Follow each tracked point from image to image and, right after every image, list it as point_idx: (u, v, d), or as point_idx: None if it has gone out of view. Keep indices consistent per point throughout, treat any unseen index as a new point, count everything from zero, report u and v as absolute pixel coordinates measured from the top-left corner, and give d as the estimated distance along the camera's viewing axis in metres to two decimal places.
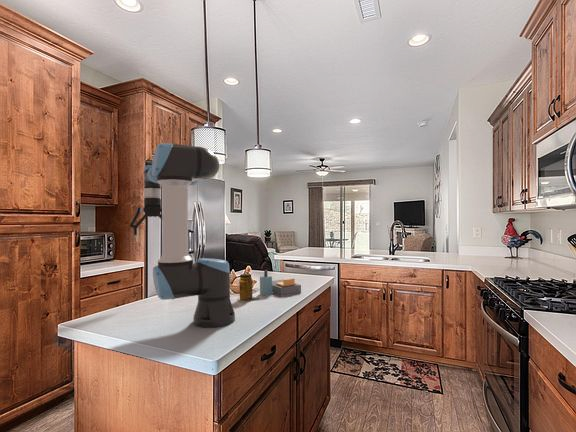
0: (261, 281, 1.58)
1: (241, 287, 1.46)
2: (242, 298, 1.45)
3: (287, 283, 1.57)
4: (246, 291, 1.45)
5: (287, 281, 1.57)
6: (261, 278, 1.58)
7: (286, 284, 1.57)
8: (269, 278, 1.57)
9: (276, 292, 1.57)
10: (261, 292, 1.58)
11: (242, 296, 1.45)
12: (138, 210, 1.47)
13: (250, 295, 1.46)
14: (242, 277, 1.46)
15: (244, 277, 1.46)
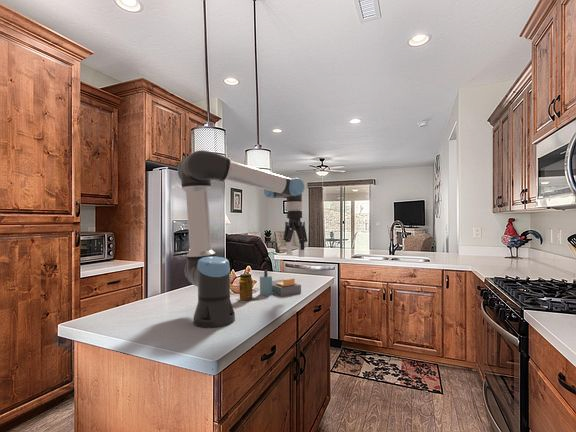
0: (261, 281, 1.58)
1: (241, 287, 1.46)
2: (242, 298, 1.45)
3: (287, 283, 1.57)
4: (246, 291, 1.45)
5: (287, 281, 1.57)
6: (261, 278, 1.58)
7: (286, 284, 1.57)
8: (269, 278, 1.57)
9: (276, 292, 1.57)
10: (261, 292, 1.58)
11: (242, 296, 1.45)
12: (285, 224, 1.58)
13: (250, 295, 1.46)
14: (242, 277, 1.46)
15: (244, 277, 1.46)
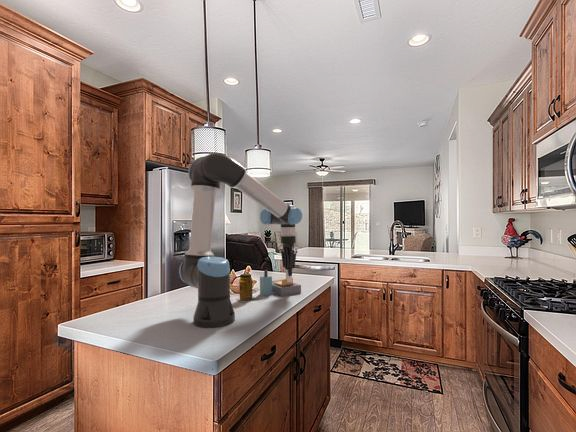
0: (261, 281, 1.58)
1: (241, 287, 1.46)
2: (242, 298, 1.45)
3: (285, 283, 1.59)
4: (246, 291, 1.45)
5: (285, 281, 1.59)
6: (261, 278, 1.58)
7: (284, 283, 1.58)
8: (269, 278, 1.57)
9: (276, 292, 1.57)
10: (261, 292, 1.58)
11: (242, 296, 1.45)
12: (281, 251, 1.63)
13: (250, 295, 1.46)
14: (242, 277, 1.46)
15: (244, 277, 1.46)
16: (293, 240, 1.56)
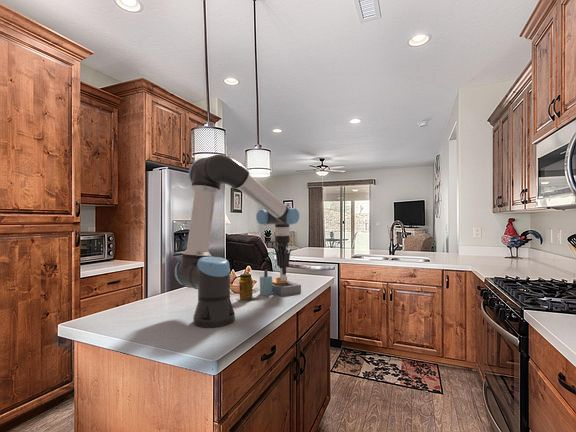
0: (261, 281, 1.58)
1: (241, 287, 1.46)
2: (242, 298, 1.45)
3: (280, 281, 1.63)
4: (246, 291, 1.45)
5: None
6: (261, 278, 1.58)
7: (279, 282, 1.63)
8: (269, 278, 1.57)
9: (276, 292, 1.57)
10: (261, 292, 1.58)
11: (242, 296, 1.45)
12: (275, 250, 1.67)
13: (250, 295, 1.46)
14: (242, 277, 1.46)
15: (244, 277, 1.46)
16: (287, 240, 1.61)
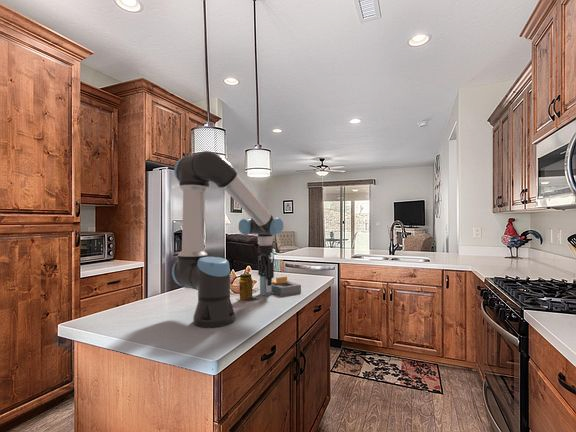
0: (261, 281, 1.58)
1: (241, 287, 1.46)
2: (242, 298, 1.45)
3: (280, 281, 1.63)
4: (246, 291, 1.45)
5: (280, 279, 1.63)
6: (261, 278, 1.58)
7: (279, 282, 1.63)
8: None
9: (276, 292, 1.57)
10: (261, 292, 1.58)
11: (242, 296, 1.45)
12: (258, 259, 1.63)
13: (250, 295, 1.46)
14: (242, 277, 1.46)
15: (244, 277, 1.46)
16: (270, 249, 1.56)
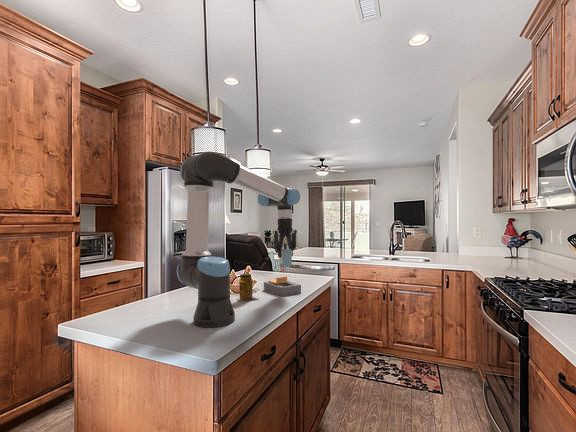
0: (286, 254, 1.59)
1: (241, 287, 1.46)
2: (242, 298, 1.45)
3: (280, 281, 1.63)
4: (246, 291, 1.45)
5: (280, 279, 1.63)
6: (286, 251, 1.59)
7: (279, 282, 1.63)
8: None
9: (276, 292, 1.57)
10: (286, 265, 1.59)
11: (242, 296, 1.45)
12: (276, 233, 1.57)
13: (250, 295, 1.46)
14: (242, 277, 1.46)
15: (244, 277, 1.46)
16: None
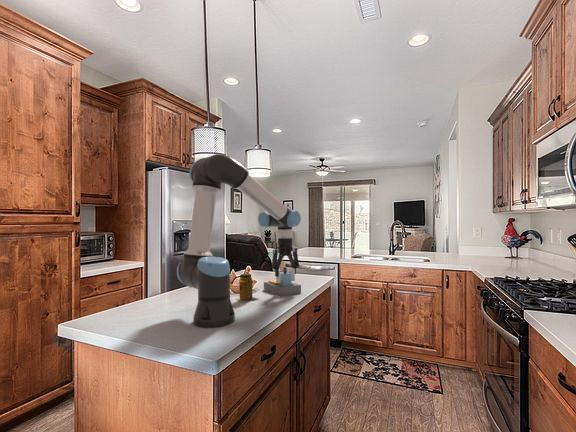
0: (286, 278, 1.59)
1: (241, 287, 1.46)
2: (242, 298, 1.45)
3: None
4: (246, 291, 1.45)
5: None
6: (286, 275, 1.59)
7: None
8: None
9: (276, 292, 1.57)
10: None
11: (242, 296, 1.45)
12: (276, 252, 1.57)
13: (250, 295, 1.46)
14: (242, 277, 1.46)
15: (244, 277, 1.46)
16: None
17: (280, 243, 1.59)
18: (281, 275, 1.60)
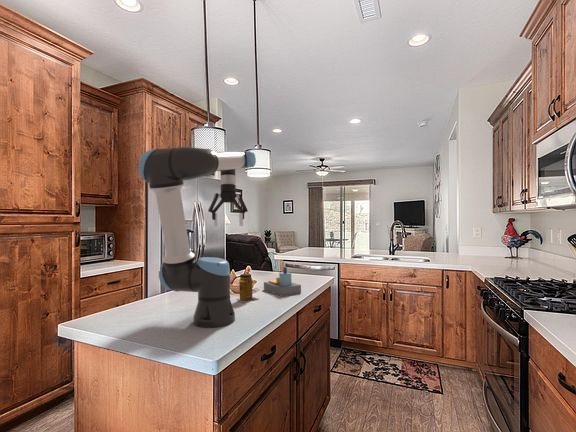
0: (286, 278, 1.59)
1: (241, 287, 1.46)
2: (242, 298, 1.45)
3: None
4: (246, 291, 1.45)
5: None
6: (286, 275, 1.59)
7: None
8: None
9: (276, 292, 1.57)
10: None
11: (242, 296, 1.45)
12: (216, 196, 1.53)
13: (250, 295, 1.46)
14: (242, 277, 1.46)
15: (244, 277, 1.46)
16: None
17: (222, 189, 1.55)
18: (281, 275, 1.60)
